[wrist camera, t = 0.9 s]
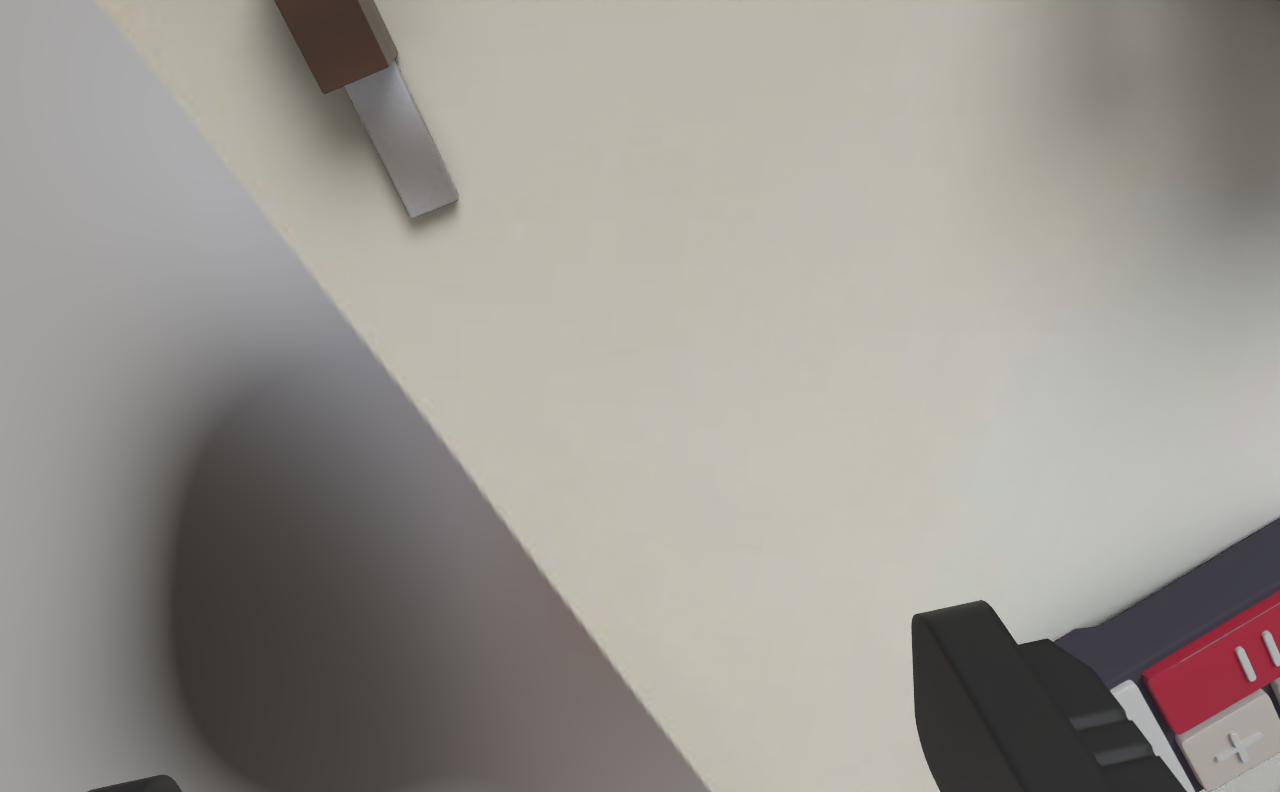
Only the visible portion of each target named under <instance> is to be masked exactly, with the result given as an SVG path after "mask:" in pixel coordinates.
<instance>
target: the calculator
mask: <svg viewBox="0 0 1280 792" xmlns="http://www.w3.org/2000/svg"><path fill="white" fill-rule="evenodd" d="M1054 643H1055V644H1057V645H1058V646H1059V647H1061V648H1062V649H1064V650H1065V651H1067V652H1068V653H1070V654H1071V655H1073V656H1074V657H1076V658H1077V659H1079V660H1080V661H1082V662H1083V663H1085V664H1086V665H1088V666H1089V667H1091V668H1092V669H1094V671H1095V672H1096V673H1097V674H1098V676H1099V677H1100V678H1101V680H1102V681H1103V682H1104V684H1105V685H1106V686H1107V688H1108V689H1109V690H1110V691H1111V693H1112V694H1113V695H1114V697H1115V698H1116V699H1117V701H1118V702H1119V703H1120V705H1121V706H1122V707H1123V709H1124V710H1125V711H1126V716H1127V718H1128V720H1133V722H1134V723H1135V724H1136V726H1137V727H1138V728H1139V729H1140V731H1141V732H1142V733H1143V735H1144V736H1145V737H1146V739H1147V740H1148V741H1149V743H1150V744H1151V745H1152V748H1153V752H1154V754H1155V755H1156V756H1160V757H1161V758H1162V760H1163V761H1164V762H1165V764H1166V765H1167V766H1168V767H1169V769H1170V770H1171V771H1172V773H1173V774H1174V775H1175V777H1176V778H1177V779H1178V781H1179V782H1180V783H1181V784H1182V786H1183V787H1184V788H1185V790H1186V791H1187V792H1199V791H1201V790H1203V789H1205V790H1206V791H1208V792H1211V791H1213V790H1215V789H1217V788H1219V787H1220V786H1222V785H1224V784H1226V783H1227V782H1229V781H1231V780H1233V779H1234V778H1236V777H1238V776H1240V775H1241V774H1243V773H1245V772H1247V771H1248V770H1250V769H1252V768H1254V767H1255V766H1257V765H1259V764H1261V763H1262V762H1264V761H1266V760H1268V759H1269V758H1271V757H1273V756H1275V755H1276V754H1278V753H1280V518H1279V519H1277V520H1276V521H1274V522H1272V523H1271V524H1269V525H1268V526H1266V527H1264V528H1263V529H1261V530H1259V531H1258V532H1256V533H1254V534H1253V535H1251V536H1249V537H1248V538H1246V539H1244V540H1243V541H1241V542H1239V543H1238V544H1236V545H1234V546H1233V547H1231V548H1229V549H1228V550H1226V551H1224V552H1223V553H1221V554H1219V555H1218V556H1216V557H1215V558H1213V559H1211V560H1210V561H1208V562H1206V563H1205V564H1203V565H1201V566H1200V567H1198V568H1196V569H1195V570H1193V571H1191V572H1190V573H1188V574H1186V575H1185V576H1183V577H1181V578H1180V579H1178V580H1176V581H1175V582H1173V583H1171V584H1170V585H1168V586H1166V587H1165V588H1163V589H1162V590H1160V591H1158V592H1157V593H1155V594H1153V595H1152V596H1150V597H1148V598H1147V599H1145V600H1143V601H1142V602H1140V603H1138V604H1137V605H1135V606H1133V607H1132V608H1130V609H1128V610H1127V611H1125V612H1123V613H1122V614H1120V615H1118V616H1117V617H1115V618H1113V619H1112V620H1110V621H1108V622H1107V623H1105V624H1103V625H1102V626H1099V627H1090V628H1080V629H1075V630H1074V631H1072V632H1070V633H1069V634H1067V635H1065V636H1064V637H1062V638H1060V639H1059V640H1057V641H1055V642H1054Z"/></svg>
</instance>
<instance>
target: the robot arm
mask: <svg viewBox="0 0 1280 792" xmlns="http://www.w3.org/2000/svg"><path fill="white" fill-rule="evenodd" d="M912 654H913V679H914V704H915V718H916V725H917V730H918V734H919V738H920V742H921V746H922V749H923V752H924V755H925V758H926V761H927V763H928V766H929V768H930V771H931V773H932V775H933V777H934V779H935V781H936V784H937V786H938V788H939V790H940V792H1187V791H1186V790H1185V788H1184V787H1183V786H1182V784H1181V783H1180V782H1179V781H1178V779H1177V778H1176V777H1175V775H1174V774H1173V773H1172V771H1171V770H1170V769H1169V767H1168V766H1167V765H1166V764H1165V762H1164V761H1163V760H1162V758H1161V757H1160V756H1156V755H1155V754H1154V752H1153V748H1152V745H1151V744H1150V743H1149V741H1148V740H1147V739H1146V737H1145V736H1144V735H1143V733H1142V732H1141V731H1140V729H1139V728H1138V727H1137V726H1136V724H1135V723H1134V722H1133V720H1128V718H1127V716H1126V711H1125V710H1124V709H1123V707H1122V706H1121V705H1120V703H1119V702H1118V701H1117V699H1116V698H1115V697H1114V695H1113V694H1112V693H1111V691H1110V690H1109V689H1108V688H1107V686H1106V685H1105V684H1104V682H1103V681H1102V680H1101V678H1100V677H1099V676H1098V674H1097V673H1096V672H1095V671H1094V669H1092V668H1091V667H1089V666H1088V665H1086V664H1085V663H1083V662H1082V661H1080V660H1079V659H1077V658H1076V657H1074V656H1073V655H1071V654H1070V653H1068V652H1067V651H1065V650H1064V649H1062V648H1061V647H1059V646H1058V645H1057V644H1055V643H1054V642H1052V641H1051V640H1049V639H1048V638H1047V639H1043V640H1038V641H1034V642H1029V643H1024V644H1020V645H1018V644H1017V643H1016V641H1015V640H1014V639H1013V637H1012V636H1011V634H1010V633H1009V631H1008V630H1007V628H1006V627H1005V625H1004V624H1003V623H1002V621H1001V620H1000V618H999V617H998V615H997V614H996V612H995V611H994V610H993V608H992V607H991V606H990V605H989V604H988V603H987V602H985V601H982V600H980V601H975V602H970V603H966V604H961V605H957V606H952V607H947V608H943V609H938V610H933V611H929V612H924V613H920V614H915V615H914V616H913V619H912ZM88 792H182V791H181V790H180V788H179V786H178V785H177V783H176V782H175V781H174V780H173V779H172V778H171V777H169V776H167V775H158V776H153V777H149V778H144V779H140V780H135V781H130V782H126V783H121V784H116V785H112V786H107V787H102V788H98V789H93V790H90V791H88Z"/></svg>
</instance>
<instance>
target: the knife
mask: <svg viewBox="0 0 1280 792" xmlns="http://www.w3.org/2000/svg"><path fill="white" fill-rule="evenodd" d="M275 2H276V4H277V6H278V8H279V10H280V12H281V14H282V16H283V18H284V20H285V22H286V23H287V25H288V27H289V29H290V31H291V33H292V35H293V37H294V39H295V41H296V43H297V45H298V47H299V48H300V50H301V52H302V54H303V56H304V58H305V60H306V62H307V64H308V66H309V68H310V70H311V72H312V73H313V75H314V77H315V79H316V81H317V83H318V85H319V87H320V89H321V91H322V93H323V94H326V93H329V92H331V91H333V90H336V89H338V88H341V87H343V86H344V87H345V89H346V91H347V93H348V95H349V97H350V99H351V101H352V103H353V105H354V107H355V109H356V111H357V113H358V115H359V117H360V119H361V121H362V123H363V125H364V126H365V128H366V130H367V132H368V134H369V136H370V138H371V140H372V142H373V144H374V146H375V148H376V150H377V152H378V154H379V156H380V158H381V160H382V162H383V164H384V166H385V168H386V170H387V172H388V174H389V176H390V178H391V180H392V182H393V184H394V186H395V188H396V189H397V191H398V193H399V195H400V197H401V199H402V201H403V203H404V205H405V207H406V209H407V211H408V213H409V215H410V217H411V218H416V217H418V216H420V215H423V214H425V213H428V212H430V211H433V210H435V209H438V208H440V207H443V206H445V205H448V204H450V203H453V202H455V201H457V200H458V198H459V194H458V192H457V190H456V188H455V186H454V183H453V181H452V179H451V177H450V175H449V173H448V171H447V169H446V167H445V165H444V162H443V160H442V158H441V156H440V154H439V152H438V150H437V148H436V146H435V143H434V141H433V139H432V137H431V135H430V133H429V131H428V129H427V127H426V125H425V122H424V120H423V118H422V116H421V114H420V112H419V110H418V108H417V106H416V104H415V101H414V99H413V97H412V95H411V93H410V91H409V89H408V87H407V85H406V82H405V80H404V78H403V76H402V74H401V72H400V70H399V68H398V66H397V64H396V61H395V58H396V57H397V55H398V51H397V49H396V47H395V45H394V43H393V41H392V39H391V37H390V34H389V32H388V30H387V28H386V26H385V24H384V22H383V20H382V17H381V15H380V13H379V11H378V9H377V7H376V5H375V3H374V0H275Z"/></svg>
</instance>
